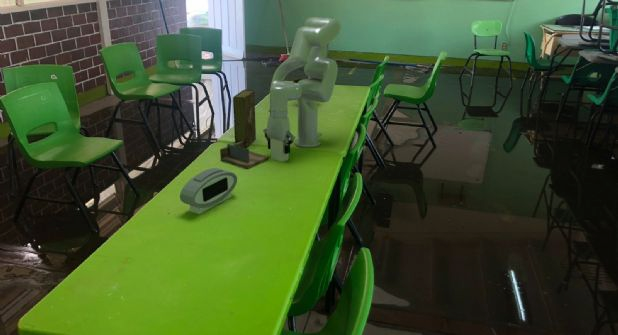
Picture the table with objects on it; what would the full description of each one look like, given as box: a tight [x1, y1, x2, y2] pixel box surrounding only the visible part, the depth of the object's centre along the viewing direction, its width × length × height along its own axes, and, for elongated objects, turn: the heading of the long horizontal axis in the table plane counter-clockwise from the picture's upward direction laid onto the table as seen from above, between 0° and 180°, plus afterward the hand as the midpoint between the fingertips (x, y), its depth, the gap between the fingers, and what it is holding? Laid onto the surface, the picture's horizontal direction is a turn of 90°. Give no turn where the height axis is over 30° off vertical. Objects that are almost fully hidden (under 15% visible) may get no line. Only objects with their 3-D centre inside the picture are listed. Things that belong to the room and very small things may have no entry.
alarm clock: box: [179, 167, 238, 215], centre depth 171 cm, size 23×6×13 cm, turn 148°
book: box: [232, 89, 257, 149], centre depth 230 cm, size 16×6×25 cm, turn 168°
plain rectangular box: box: [270, 138, 289, 163], centre depth 214 cm, size 4×7×10 cm, turn 54°
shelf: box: [219, 141, 270, 170], centre depth 212 cm, size 14×16×8 cm
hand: (278, 150), depth 214 cm, fingers open, 9 cm apart
